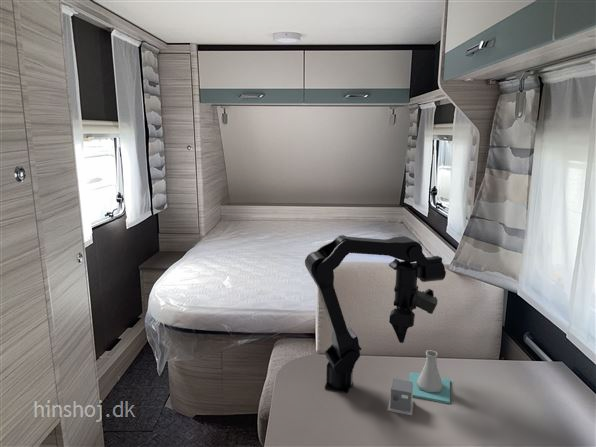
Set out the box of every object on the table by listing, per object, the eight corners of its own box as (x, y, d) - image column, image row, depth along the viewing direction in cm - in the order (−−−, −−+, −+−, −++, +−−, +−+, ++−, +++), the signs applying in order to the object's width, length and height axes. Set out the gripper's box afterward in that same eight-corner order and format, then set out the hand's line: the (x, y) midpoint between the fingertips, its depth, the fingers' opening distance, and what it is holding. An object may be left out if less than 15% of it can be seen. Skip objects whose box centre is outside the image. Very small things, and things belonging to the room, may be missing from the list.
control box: (387, 410, 113) (388, 389, 112) (390, 397, 119) (391, 377, 117) (411, 415, 111) (413, 394, 110) (413, 401, 117) (415, 381, 115)
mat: (406, 395, 119) (406, 393, 119) (409, 374, 129) (410, 372, 129) (449, 403, 116) (449, 401, 116) (449, 380, 126) (449, 379, 126)
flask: (442, 380, 125) (445, 348, 123) (443, 395, 118) (446, 361, 116) (416, 376, 127) (418, 344, 125) (415, 391, 120) (417, 357, 118)
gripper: (435, 299, 111) (431, 355, 114) (437, 275, 128) (433, 325, 131) (390, 293, 114) (387, 349, 118) (398, 271, 131) (395, 319, 135)
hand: (403, 335), depth 125 cm, fingers open, 9 cm apart
